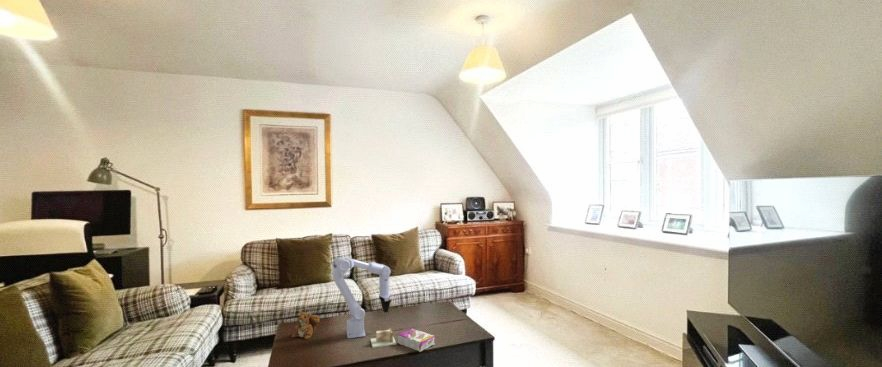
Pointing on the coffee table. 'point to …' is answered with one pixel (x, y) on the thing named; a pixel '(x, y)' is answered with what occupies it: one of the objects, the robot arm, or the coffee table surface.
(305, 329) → the stuffed squirrel
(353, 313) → the robot arm
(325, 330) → the coffee table surface
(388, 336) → the wooden t-shaped block
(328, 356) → the coffee table surface
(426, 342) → the candy bar box
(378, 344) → the board
